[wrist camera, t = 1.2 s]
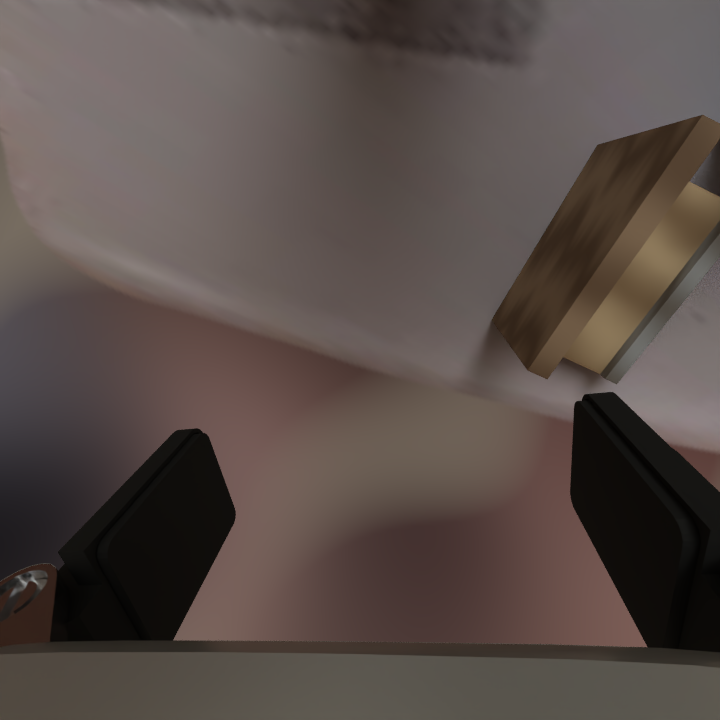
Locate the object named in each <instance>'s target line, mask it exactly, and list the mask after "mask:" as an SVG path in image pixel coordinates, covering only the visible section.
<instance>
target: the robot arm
mask: <svg viewBox="0 0 720 720" xmlns="http://www.w3.org/2000/svg"><path fill="white" fill-rule="evenodd" d="M570 495H571V500H572V504H573V507H574V509H575V511H576V513H577V515H578V516H579V519H580V521H581V522H582V524H583V526H584V528H585V530H586V532H587V533H588V536H589V537H590V539H591V541H592V543H593V545H594V547H595V548H596V551H597V553H598V554H599V556H600V558H601V560H602V562H603V564H604V566H605V568H606V569H607V571H608V573H609V575H610V577H611V579H612V581H613V583H614V584H615V586H616V588H617V590H618V592H619V594H620V596H621V598H622V599H623V601H624V603H625V605H626V607H627V609H628V611H629V613H630V615H631V617H632V618H633V620H634V622H635V624H636V626H637V628H638V630H639V632H640V633H641V635H642V637H643V639H644V641H645V643H646V644H647V647H617V646H615V647H614V646H586V645H554V644H488V643H486V644H485V643H422V642H421V643H419V642H331V641H330V642H329V641H328V642H327V641H326V642H325V641H173V639H174V637H175V635H176V633H177V631H178V629H179V627H180V626H181V624H182V622H183V620H184V618H185V616H186V614H187V612H188V610H189V608H190V606H191V605H192V603H193V601H194V599H195V597H196V595H197V593H198V591H199V589H200V587H201V585H202V583H203V581H204V580H205V578H206V576H207V574H208V572H209V570H210V568H211V566H212V564H213V562H214V560H215V558H216V557H217V555H218V553H219V551H220V549H221V547H222V545H223V543H224V541H225V539H226V537H227V536H228V534H229V532H230V530H231V527H232V526H233V524H234V521H235V515H236V514H235V508H234V505H233V502H232V499H231V497H230V494H229V491H228V489H227V486H226V483H225V480H224V478H223V475H222V472H221V469H220V467H219V464H218V461H217V458H216V456H215V453H214V450H213V447H212V445H211V442H210V439H209V437H208V436H207V434H205V433H203V432H202V431H201V430H200V429H185V430H177V431H175V432H174V433H173V434H172V435H171V436H170V437H169V438H168V439H167V440H166V441H165V442H164V443H163V444H162V445H161V446H160V447H159V448H158V449H157V451H155V452H154V453H153V454H152V456H150V457H149V459H148V460H147V461H146V462H145V463H144V464H143V465H142V466H141V467H140V468H139V469H138V470H137V471H136V472H135V473H134V474H133V475H132V476H131V477H130V478H129V479H128V480H127V481H126V482H125V483H124V484H123V485H122V486H121V487H120V489H119V490H117V492H116V493H115V494H114V495H113V496H112V497H111V498H110V499H109V500H108V501H107V502H106V503H105V504H104V505H103V506H102V507H101V508H100V509H99V510H98V511H97V512H96V513H95V514H94V516H92V517H91V518H90V520H89V521H88V522H87V523H85V525H84V526H83V527H82V528H81V529H80V530H79V531H78V532H77V533H76V534H75V535H74V536H73V537H72V538H71V539H70V540H69V541H68V542H67V543H66V544H65V545H64V546H63V547H62V548H61V549H60V550H59V551H58V553H59V555H60V556H61V558H62V560H63V561H64V563H65V564H64V565H63V566H62V567H61V568H60V570H59V571H58V570H57V569H56V567H54V566H53V565H51V564H38V565H33V566H30V567H27V568H25V569H22V570H20V571H18V572H16V573H14V574H12V575H10V576H9V577H7V578H5V579H3V580H2V581H1V582H0V720H720V492H719V491H718V490H717V489H716V488H715V487H714V486H713V485H712V484H710V483H709V482H708V481H707V480H706V479H705V478H704V477H703V476H702V475H701V474H700V473H699V472H698V471H697V470H696V469H695V468H694V467H693V466H692V465H691V464H690V463H689V462H687V461H686V460H685V459H684V458H683V457H682V456H681V455H680V454H679V453H678V452H677V451H675V450H674V449H673V448H671V447H670V446H669V445H668V444H667V443H666V442H665V441H664V440H663V439H662V438H661V437H660V436H659V435H658V434H657V433H656V432H655V431H654V430H653V429H651V428H650V427H649V426H648V425H647V424H646V423H645V422H644V421H643V420H642V419H641V418H640V417H639V416H638V415H637V414H636V413H635V412H634V411H633V410H632V409H631V408H630V407H629V406H628V405H627V404H625V403H624V402H623V401H622V400H621V399H620V398H619V397H618V396H617V395H616V394H615V393H613V392H606V393H595V394H585V395H584V396H583V398H582V401H577V402H576V403H575V406H574V423H573V445H572V465H571V487H570Z"/></svg>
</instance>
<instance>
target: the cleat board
mask: <svg viewBox="0 0 720 720" xmlns="http://www.w3.org/2000/svg"><path fill="white" fill-rule="evenodd" d="M719 139H720V123H718V122H716V121H714V120H712V119H710V118H708V117H706V116H704V115H701V116H697V117H694V118H690V119H687V120H683V121H680V122H676V123H673V124H669V125H666V126H662V127H659V128H655V129H652V130H648V131H645V132H641V133H638V134H634V135H631V136H627V137H623V138H620V139H616V140H613V141H609V142H606V143H602V144H599V145H597V147H596V149H595V150H594V152H593V153H592V155H591V157H590V158H589V160H588V162H587V163H586V165H585V167H584V168H583V170H582V172H581V173H580V175H579V177H578V178H577V180H576V182H575V183H574V185H573V186H572V188H571V190H570V191H569V193H568V195H567V196H566V198H565V200H564V201H563V203H562V205H561V206H560V208H559V210H558V211H557V213H556V215H555V216H554V218H553V219H552V221H551V223H550V224H549V226H548V228H547V229H546V231H545V233H544V234H543V236H542V238H541V239H540V241H539V243H538V244H537V246H536V248H535V249H534V251H533V253H532V254H531V256H530V257H529V259H528V261H527V262H526V264H525V266H524V267H523V269H522V271H521V272H520V274H519V276H518V277H517V279H516V281H515V282H514V284H513V286H512V287H511V289H510V290H509V292H508V294H507V295H506V297H505V299H504V300H503V302H502V304H501V305H500V307H499V309H498V310H497V312H496V314H495V315H494V317H493V319H492V321H493V322H494V324H495V325H496V327H497V328H498V329H499V331H500V332H501V334H502V335H503V336H504V338H505V339H506V341H507V342H508V343H509V345H510V346H511V348H512V349H513V351H514V352H515V353H516V355H517V356H518V358H519V359H520V360H521V362H522V363H523V365H524V366H525V367H526V369H527V370H528V371H530V372H532V373H535V374H537V375H539V376H541V377H543V378H546V379H548V378H549V376H550V375H551V373H552V372H553V371H554V369H555V368H556V366H557V365H558V364H559V362H560V361H561V359H562V358H563V357H564V358H566V359H568V360H570V361H573V362H575V363H577V364H579V365H581V366H583V367H585V368H588V369H590V370H592V371H594V372H596V373H598V374H600V375H601V376H603V377H604V378H605V379H607V380H609V381H611V382H613V383H615V384H617V383H618V382H619V381H620V380H621V378H622V377H623V376H624V375H625V373H626V372H627V371H628V370H629V368H630V367H631V366H632V365H633V363H634V362H635V361H636V360H637V358H638V357H639V356H640V355H641V354H642V352H643V351H644V350H645V349H646V347H647V346H648V345H649V344H650V342H651V341H652V340H653V339H654V337H655V336H656V335H657V334H658V332H659V331H660V330H661V329H662V328H663V326H664V325H665V324H666V323H667V321H668V320H669V319H670V318H671V316H672V315H673V314H674V313H675V311H676V310H677V309H678V308H679V306H680V305H681V304H682V303H683V302H684V300H685V299H686V298H687V297H688V295H689V294H690V293H691V292H692V290H693V289H694V288H695V287H696V285H697V284H698V283H699V282H700V280H701V279H702V278H703V277H704V276H705V274H706V273H707V272H708V271H709V269H710V268H711V267H712V266H713V264H714V263H715V262H716V261H717V259H718V258H719V257H720V197H719V196H717V195H715V194H713V193H711V192H709V191H707V190H705V189H703V188H701V187H699V186H697V185H695V184H693V183H691V182H689V181H690V180H691V178H692V177H693V176H694V174H695V173H696V171H697V170H698V169H699V167H700V166H701V164H702V163H703V162H704V160H705V159H706V157H707V156H708V155H709V153H710V152H711V150H712V149H713V148H714V146H715V145H716V143H717V142H718V141H719Z"/></svg>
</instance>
